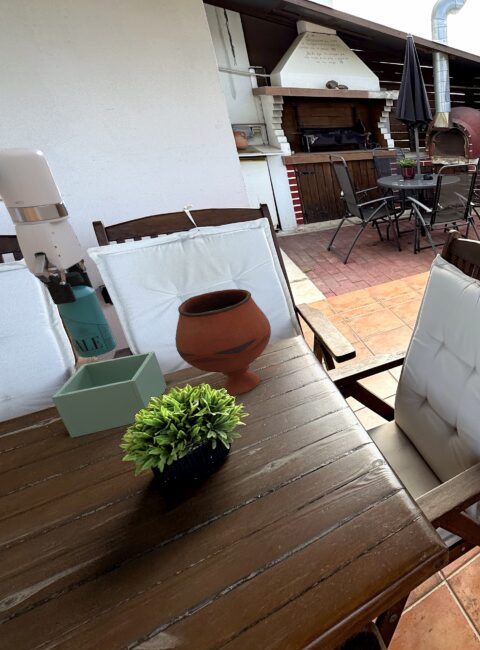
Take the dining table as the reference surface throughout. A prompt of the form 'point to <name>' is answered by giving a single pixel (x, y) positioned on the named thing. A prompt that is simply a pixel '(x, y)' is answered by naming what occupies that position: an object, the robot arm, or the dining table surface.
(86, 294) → the beverage bottle
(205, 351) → the goblet
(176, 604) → the dining table surface
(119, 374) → the bin
